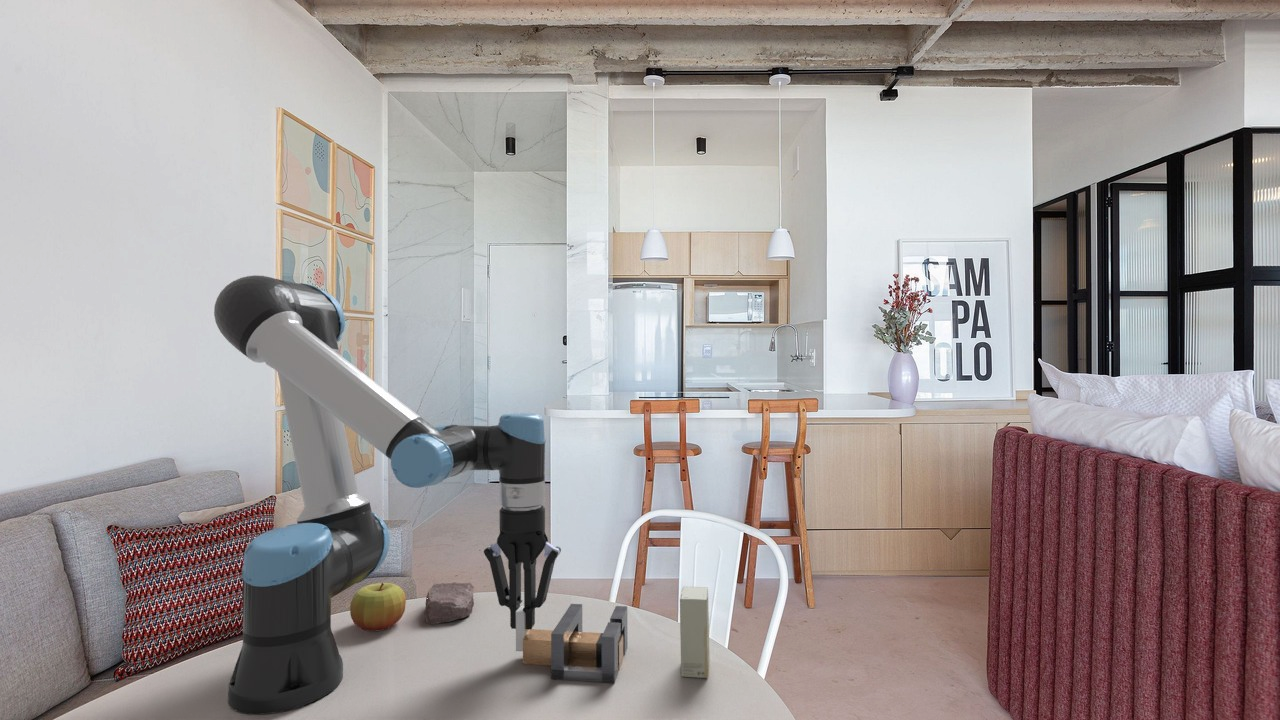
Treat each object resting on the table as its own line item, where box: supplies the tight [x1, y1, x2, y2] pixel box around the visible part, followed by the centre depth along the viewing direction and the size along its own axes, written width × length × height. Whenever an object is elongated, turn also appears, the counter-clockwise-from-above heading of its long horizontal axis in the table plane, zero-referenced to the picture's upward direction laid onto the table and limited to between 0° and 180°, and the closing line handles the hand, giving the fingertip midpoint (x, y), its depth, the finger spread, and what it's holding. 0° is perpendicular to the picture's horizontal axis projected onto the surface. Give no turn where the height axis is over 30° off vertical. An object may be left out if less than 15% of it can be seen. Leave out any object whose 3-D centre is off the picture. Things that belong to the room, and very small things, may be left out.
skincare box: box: [679, 586, 711, 679], centre depth 99 cm, size 6×4×12 cm
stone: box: [424, 582, 475, 625], centre depth 123 cm, size 12×9×5 cm
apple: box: [349, 582, 407, 632], centre depth 116 cm, size 10×10×8 cm
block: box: [522, 628, 624, 671], centre depth 102 cm, size 16×4×4 cm, turn 82°
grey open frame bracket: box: [550, 603, 628, 684], centre depth 101 cm, size 10×12×7 cm
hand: (522, 647), depth 103 cm, fingers closed
